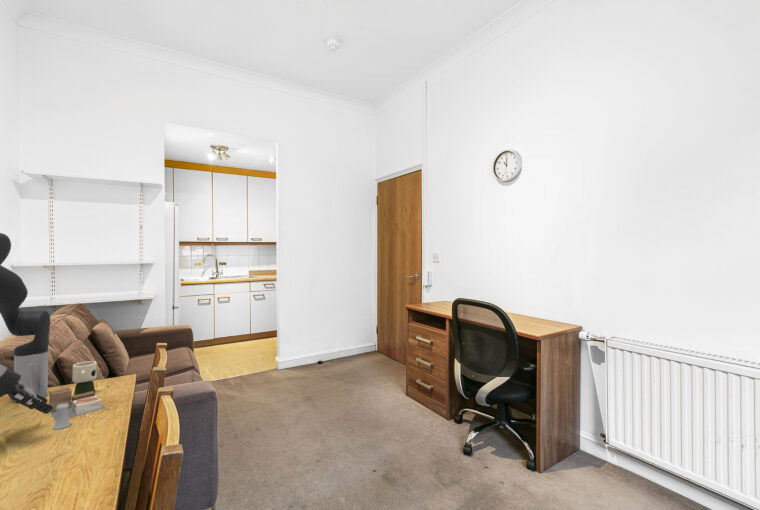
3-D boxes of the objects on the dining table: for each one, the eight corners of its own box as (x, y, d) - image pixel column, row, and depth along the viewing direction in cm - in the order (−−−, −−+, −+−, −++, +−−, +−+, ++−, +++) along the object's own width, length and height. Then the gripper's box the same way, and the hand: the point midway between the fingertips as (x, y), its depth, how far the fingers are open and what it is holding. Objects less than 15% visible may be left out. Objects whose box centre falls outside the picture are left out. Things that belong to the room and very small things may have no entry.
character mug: (94, 400, 132) (95, 365, 132) (69, 404, 128) (70, 368, 128) (97, 391, 141) (98, 358, 141) (74, 394, 137) (75, 361, 138)
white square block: (72, 409, 121) (72, 400, 121) (95, 403, 126) (95, 394, 126) (76, 414, 117) (77, 405, 117) (100, 408, 122) (100, 399, 122)
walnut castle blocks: (49, 408, 122) (49, 391, 122) (92, 397, 131) (92, 381, 131) (51, 412, 119) (52, 394, 119) (96, 401, 128) (96, 384, 128)
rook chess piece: (59, 434, 106) (60, 407, 106) (48, 433, 107) (48, 406, 107) (75, 427, 110) (75, 402, 111) (64, 426, 111) (64, 401, 111)
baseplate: (46, 411, 122) (46, 408, 122) (93, 400, 132) (93, 396, 132) (55, 425, 112) (56, 421, 112) (106, 411, 122) (106, 407, 122)
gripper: (8, 372, 95) (64, 401, 104) (3, 362, 104) (54, 390, 113) (-22, 397, 91) (39, 425, 100) (-25, 385, 100) (31, 412, 108)
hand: (47, 406), depth 106 cm, fingers open, 8 cm apart
